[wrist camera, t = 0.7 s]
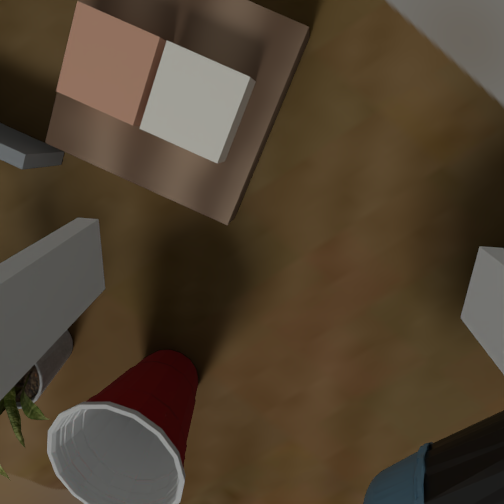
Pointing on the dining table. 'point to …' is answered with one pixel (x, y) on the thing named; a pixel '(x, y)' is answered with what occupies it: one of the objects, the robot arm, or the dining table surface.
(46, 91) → the dining table surface
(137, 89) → the terracotta tile
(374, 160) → the dining table surface
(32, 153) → the box
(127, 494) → the plastic cup
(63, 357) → the house plant
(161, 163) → the walnut plate
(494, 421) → the robot arm
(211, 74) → the cream tile
